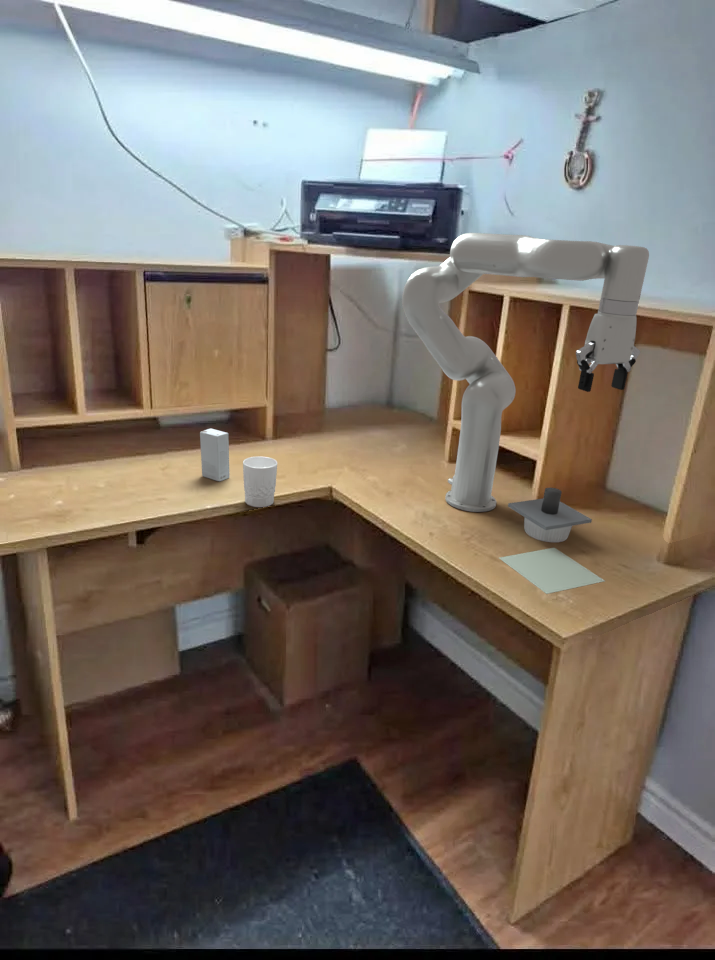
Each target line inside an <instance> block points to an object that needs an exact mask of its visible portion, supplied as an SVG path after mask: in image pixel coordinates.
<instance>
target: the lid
mask: <svg viewBox="0 0 715 960" xmlns="http://www.w3.org/2000/svg"><path fill="white" fill-rule="evenodd" d="M561 498H562V490H560V489H559V488H556V487H545V489H544V492H543V498H537V499H536V498H535V499H530V500H522V501H515V502H509V503H508V504H507V508H509V509H510V510H512V511H514V512H516V513H518V515H521V516H522V517H523V518H524V517H525V518H527V519H528V520H530V521H531V522H533V523H535V524H536V525H538V526H539V527H541V528H543V529H544V530H550V529H556V528H562V527H568V526H572V527H573V526H579V525H583V524H585V525H586V524H591V523H592V521H593V519H592V518H591V517H589V516H587V515H585V514H583V513H581V512H580V511H578V510H576V509H575V508H572V507H571V506H569V505H567V504H565V503H564V502H562V501H561Z"/></svg>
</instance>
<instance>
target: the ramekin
mask: <svg viewBox="0 0 715 960" xmlns="http://www.w3.org/2000/svg"><path fill="white" fill-rule="evenodd" d="M523 519H524V522H523V527H524V532H525V533H526V535H528V536H529V537H530V538H533V539H535V540H538V541H541V542H547V543H561V542H564V541H566V540H567V539H568V538H569V535H570V533H571V530H572V527H573V526H568V527H562V528H556V529H550V530H544V529H543V528H541V527H539V526H538V525H536V524H535V523H533V522H531V521H530V520H528V519H527V518H525V517H524V516H523Z"/></svg>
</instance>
